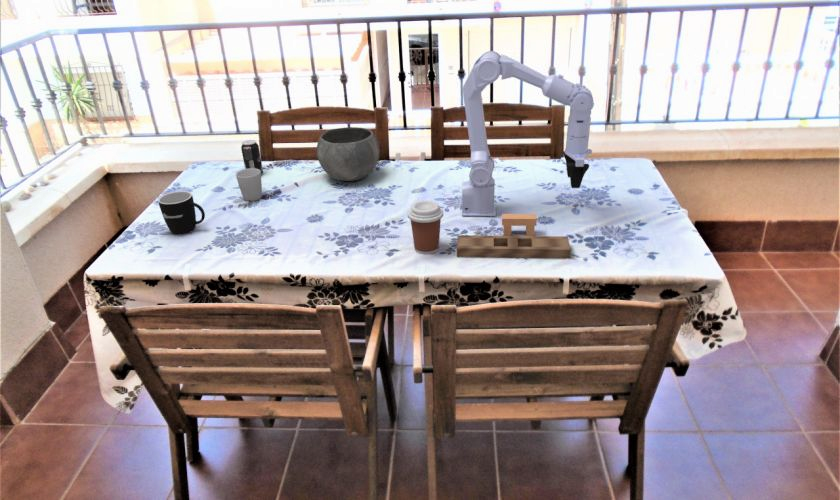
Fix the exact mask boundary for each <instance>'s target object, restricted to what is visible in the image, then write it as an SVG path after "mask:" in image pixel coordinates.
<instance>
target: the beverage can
mask: <svg viewBox="0 0 840 500" xmlns="http://www.w3.org/2000/svg"><path fill="white" fill-rule="evenodd" d="M240 148H241V153H242V159H243V165H244V169H249V168H255V169H259V170H260V171H261V175H263V173H264V169H263V164H262V158H261V151H260V146H259V144H258V142H257V140H255V139H248V140H247V139H246V140H244V141H242V143H241V147H240Z"/></svg>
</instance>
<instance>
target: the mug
mask: <svg viewBox="0 0 840 500" xmlns="http://www.w3.org/2000/svg"><path fill="white" fill-rule="evenodd" d="M158 206H159V208H160V211H161V214H162V217H163V220H164V222H165V224H166V227H167V228H168V230H169V231H170V233H172V234H173V235H176V234H182V235H187V234H189V232H190V233H191V231H192V232H193V231H194V230H195V228H196V226H197V225H199V224H202V222H203V221H204V220H205V218H206V213H205V209H204V208H203V207H202V206H201V205H200V204H199V203H196V202H194V196H193V194H192V192H189V191H186V190H185V191H184V190H181V191H179V190H177V191H171V192H168V193H165V194H163V195H162V196H160V197H158ZM196 208H197V209H198V210H199V211H200V213H201V218H200V220H197V216H196ZM186 233H187V234H186Z"/></svg>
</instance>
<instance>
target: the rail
mask: <svg viewBox="0 0 840 500" xmlns="http://www.w3.org/2000/svg"><path fill="white" fill-rule="evenodd" d="M571 252H572V249H571V245H570V240H569V237H568V236H561V235H560V236H551V235H549V236H546V235H534V236H526V235H511V236H504V235H463V234H462V235H461V234H460V235H457V242H456V258H496V259H497V258H501V259H502V258H505V259H510V258H511V259H514V258H515V259H566V258H570V259H571Z"/></svg>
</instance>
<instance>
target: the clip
mask: <svg viewBox="0 0 840 500" xmlns="http://www.w3.org/2000/svg"><path fill="white" fill-rule="evenodd" d="M537 222H538V218H537V213H502V214H501V226H502V227H503V228H502V229H503V236H512V228H513V226H515V227H516V226H517V227H521V226H522V227H525V236H535V227H537Z"/></svg>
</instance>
